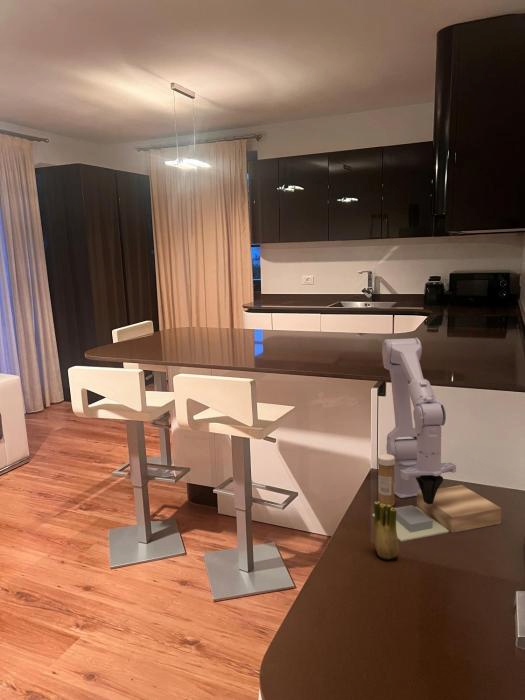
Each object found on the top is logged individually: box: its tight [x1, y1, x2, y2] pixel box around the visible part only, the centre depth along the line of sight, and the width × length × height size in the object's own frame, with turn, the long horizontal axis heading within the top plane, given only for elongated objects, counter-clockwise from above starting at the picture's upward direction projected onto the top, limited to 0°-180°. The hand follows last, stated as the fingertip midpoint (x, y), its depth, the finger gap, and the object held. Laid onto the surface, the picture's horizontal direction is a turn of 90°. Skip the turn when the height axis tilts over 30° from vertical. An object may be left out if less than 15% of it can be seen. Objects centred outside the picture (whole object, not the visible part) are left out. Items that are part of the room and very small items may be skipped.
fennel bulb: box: [373, 501, 400, 560], centre depth 111 cm, size 6×5×12 cm
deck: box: [416, 484, 502, 534], centre depth 129 cm, size 15×14×4 cm
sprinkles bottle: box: [377, 453, 396, 507], centre depth 136 cm, size 5×5×13 cm
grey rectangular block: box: [394, 504, 433, 532], centre depth 126 cm, size 9×6×2 cm, turn 16°
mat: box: [371, 506, 450, 543], centre depth 126 cm, size 14×13×1 cm
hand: (428, 502), depth 127 cm, fingers closed
